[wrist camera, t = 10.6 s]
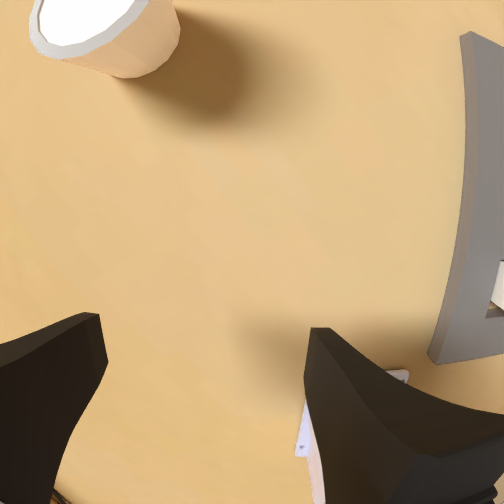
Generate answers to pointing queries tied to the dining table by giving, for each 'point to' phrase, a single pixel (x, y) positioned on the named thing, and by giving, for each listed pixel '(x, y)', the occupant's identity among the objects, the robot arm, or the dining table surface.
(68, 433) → the robot arm
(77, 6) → the white round cup
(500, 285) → the plug
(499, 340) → the socket board
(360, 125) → the dining table surface
